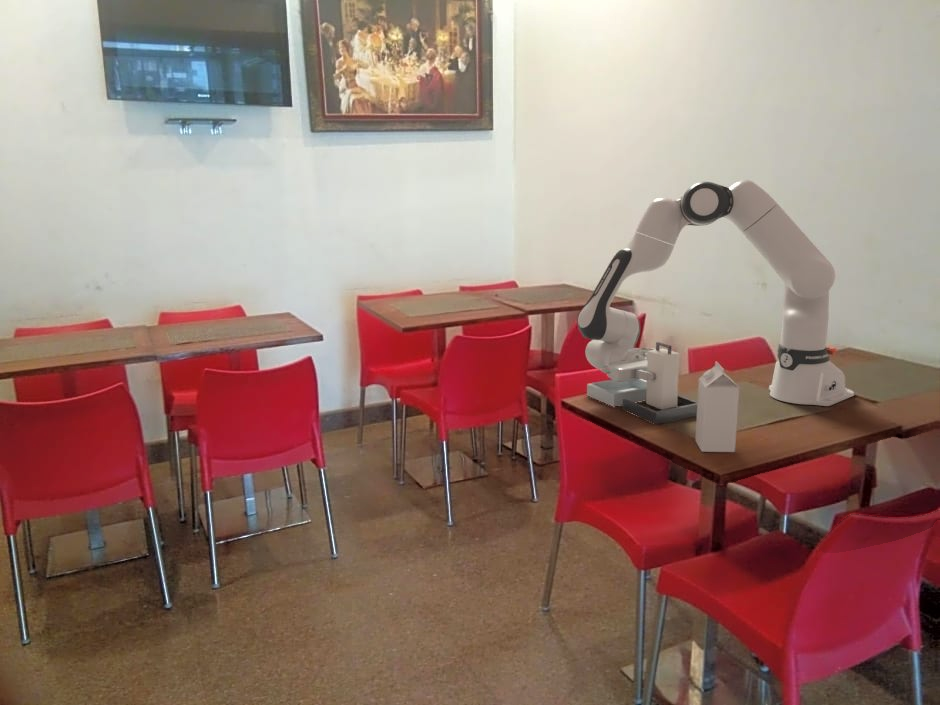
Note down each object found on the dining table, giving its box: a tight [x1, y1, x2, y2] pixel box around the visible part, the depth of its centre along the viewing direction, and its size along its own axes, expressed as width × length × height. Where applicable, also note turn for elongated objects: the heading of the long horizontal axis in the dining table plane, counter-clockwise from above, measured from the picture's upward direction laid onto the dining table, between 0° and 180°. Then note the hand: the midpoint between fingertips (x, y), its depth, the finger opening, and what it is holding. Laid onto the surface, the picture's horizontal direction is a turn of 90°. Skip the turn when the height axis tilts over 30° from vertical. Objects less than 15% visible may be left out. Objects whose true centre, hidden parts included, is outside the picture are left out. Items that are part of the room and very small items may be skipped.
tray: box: [586, 379, 647, 408], centre depth 198 cm, size 16×12×4 cm
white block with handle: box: [645, 341, 680, 410], centre depth 183 cm, size 5×6×16 cm
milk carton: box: [695, 360, 740, 453], centre depth 159 cm, size 7×7×19 cm
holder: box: [621, 394, 698, 425], centre depth 185 cm, size 15×13×3 cm
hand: (663, 375), depth 183 cm, fingers closed on white block with handle, 5 cm apart
